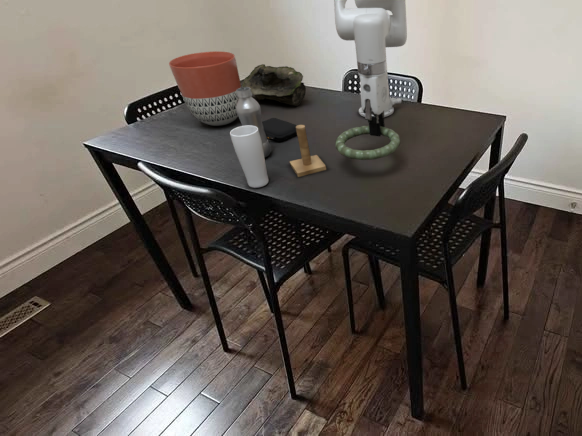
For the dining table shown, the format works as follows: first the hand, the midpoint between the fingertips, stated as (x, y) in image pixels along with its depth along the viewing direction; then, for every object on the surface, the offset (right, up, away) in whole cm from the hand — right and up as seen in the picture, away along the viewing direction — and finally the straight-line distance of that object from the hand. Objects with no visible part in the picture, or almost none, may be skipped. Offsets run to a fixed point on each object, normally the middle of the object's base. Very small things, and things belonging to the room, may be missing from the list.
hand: (377, 132), depth 118 cm
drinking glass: (-31, -15, -8) cm, 35 cm away
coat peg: (-19, -10, -2) cm, 22 cm away
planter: (-57, +9, +27) cm, 63 cm away
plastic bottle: (-35, -6, +5) cm, 36 cm away
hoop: (-2, -4, -6) cm, 7 cm away
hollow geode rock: (-42, +20, +42) cm, 63 cm away
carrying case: (-35, +3, +18) cm, 39 cm away
